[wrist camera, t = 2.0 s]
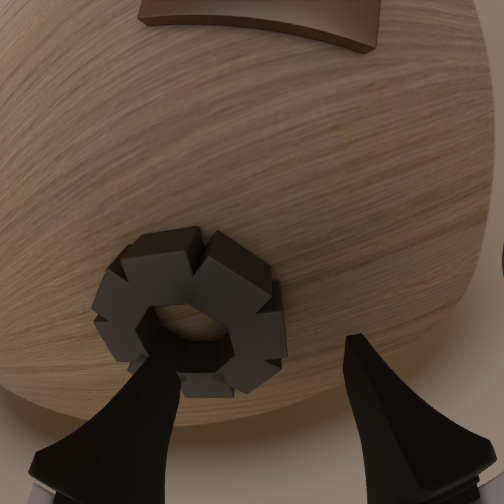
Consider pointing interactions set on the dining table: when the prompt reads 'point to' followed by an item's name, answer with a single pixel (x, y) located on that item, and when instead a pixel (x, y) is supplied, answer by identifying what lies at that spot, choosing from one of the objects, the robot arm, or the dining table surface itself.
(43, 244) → the dining table surface
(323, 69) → the dining table surface
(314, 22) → the peg stand
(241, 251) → the ring
